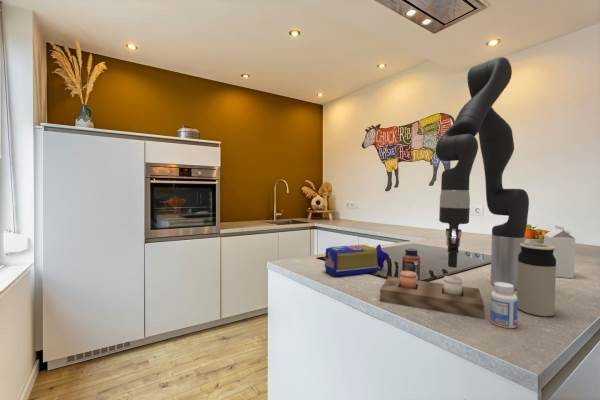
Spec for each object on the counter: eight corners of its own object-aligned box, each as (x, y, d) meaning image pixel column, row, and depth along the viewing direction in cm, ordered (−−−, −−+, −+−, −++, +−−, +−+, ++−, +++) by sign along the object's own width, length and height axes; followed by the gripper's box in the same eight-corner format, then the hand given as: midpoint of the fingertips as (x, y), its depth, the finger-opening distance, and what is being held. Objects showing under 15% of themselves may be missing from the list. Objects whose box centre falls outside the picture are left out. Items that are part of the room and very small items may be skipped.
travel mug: (543, 319, 74) (545, 249, 73) (510, 307, 81) (512, 243, 81) (560, 314, 77) (563, 246, 77) (527, 303, 84) (529, 241, 84)
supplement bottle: (421, 283, 102) (421, 251, 102) (403, 282, 103) (403, 250, 103) (417, 278, 108) (418, 248, 108) (401, 277, 109) (401, 247, 109)
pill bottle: (506, 318, 74) (507, 280, 74) (522, 328, 69) (524, 288, 69) (485, 318, 74) (486, 280, 74) (500, 328, 69) (501, 288, 69)
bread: (322, 271, 117) (322, 246, 117) (373, 265, 126) (374, 242, 126) (334, 278, 108) (334, 251, 107) (389, 272, 117) (389, 246, 116)
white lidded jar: (461, 293, 85) (461, 277, 84) (461, 299, 81) (462, 281, 80) (443, 291, 87) (443, 275, 87) (443, 296, 83) (443, 279, 82)
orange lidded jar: (416, 287, 90) (417, 271, 90) (415, 292, 86) (415, 275, 86) (401, 285, 92) (401, 269, 92) (399, 289, 88) (399, 273, 88)
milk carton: (550, 276, 111) (551, 226, 110) (542, 271, 117) (544, 224, 117) (574, 279, 108) (575, 228, 107) (565, 273, 115) (566, 225, 114)
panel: (478, 300, 87) (478, 288, 87) (483, 318, 74) (484, 305, 74) (388, 286, 98) (388, 276, 98) (380, 300, 86) (380, 289, 86)
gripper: (471, 207, 75) (469, 274, 76) (468, 205, 87) (466, 263, 88) (439, 206, 79) (437, 270, 79) (440, 204, 90) (438, 260, 91)
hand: (452, 266), depth 83 cm, fingers closed
